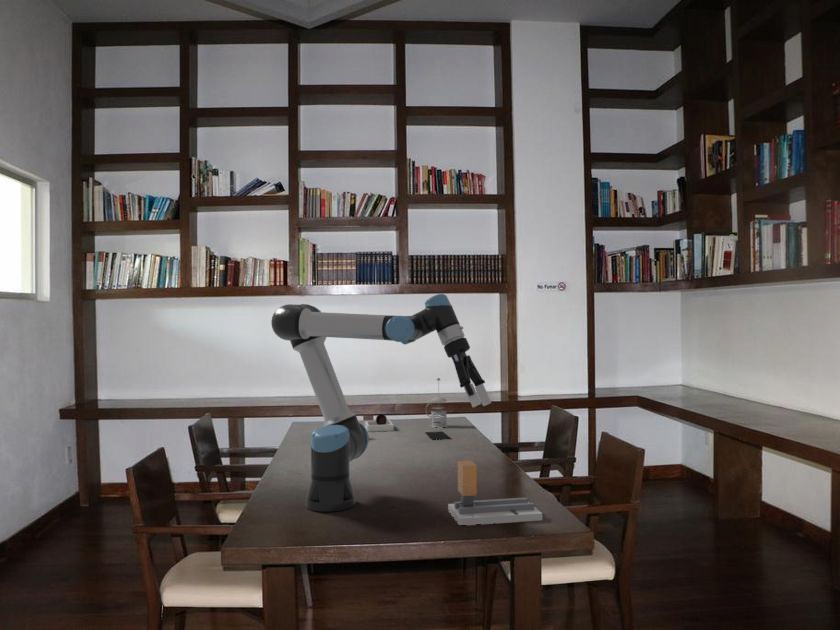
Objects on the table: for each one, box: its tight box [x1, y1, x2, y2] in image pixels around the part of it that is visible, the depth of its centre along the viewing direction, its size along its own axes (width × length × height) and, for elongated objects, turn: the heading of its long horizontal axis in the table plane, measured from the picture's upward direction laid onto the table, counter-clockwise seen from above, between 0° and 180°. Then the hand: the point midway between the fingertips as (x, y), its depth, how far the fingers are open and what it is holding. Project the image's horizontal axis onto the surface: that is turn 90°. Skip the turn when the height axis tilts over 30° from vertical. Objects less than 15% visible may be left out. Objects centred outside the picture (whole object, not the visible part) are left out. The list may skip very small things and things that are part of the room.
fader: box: [457, 460, 478, 507], centre depth 186 cm, size 4×6×13 cm
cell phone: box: [424, 431, 452, 441], centre depth 307 cm, size 9×18×1 cm, turn 11°
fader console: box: [447, 497, 543, 526], centre depth 187 cm, size 24×14×4 cm, turn 100°
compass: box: [375, 413, 388, 425], centre depth 327 cm, size 8×8×7 cm
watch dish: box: [364, 419, 395, 433], centre depth 327 cm, size 13×13×3 cm
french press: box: [425, 377, 448, 428], centre depth 332 cm, size 10×12×25 cm
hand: (482, 405), depth 195 cm, fingers open, 13 cm apart
